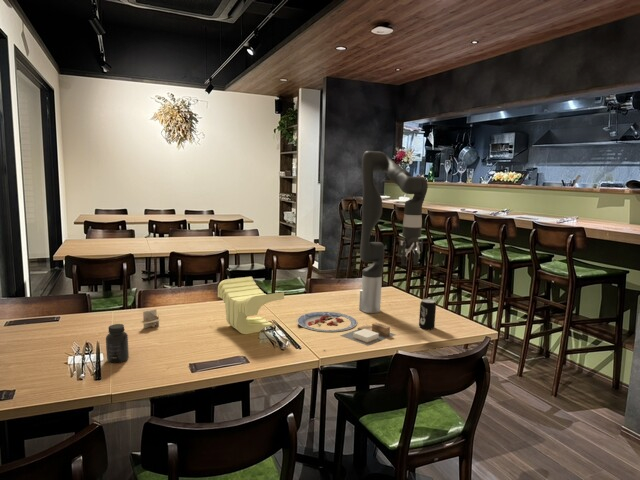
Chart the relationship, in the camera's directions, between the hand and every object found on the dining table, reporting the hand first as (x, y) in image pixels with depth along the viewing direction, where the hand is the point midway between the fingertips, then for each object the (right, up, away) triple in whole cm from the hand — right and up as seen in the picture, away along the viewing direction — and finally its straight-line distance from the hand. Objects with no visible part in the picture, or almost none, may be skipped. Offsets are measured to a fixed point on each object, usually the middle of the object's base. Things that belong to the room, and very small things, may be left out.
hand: (409, 264), depth 189 cm
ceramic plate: (-35, -27, +6) cm, 44 cm away
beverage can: (+8, -28, +6) cm, 30 cm away
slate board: (-18, -29, -9) cm, 36 cm away
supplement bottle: (-106, -31, -36) cm, 116 cm away
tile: (-22, -27, -11) cm, 36 cm away
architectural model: (-107, -26, -3) cm, 110 cm away
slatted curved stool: (-67, -27, 0) cm, 72 cm away
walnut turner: (-15, -27, -5) cm, 32 cm away
